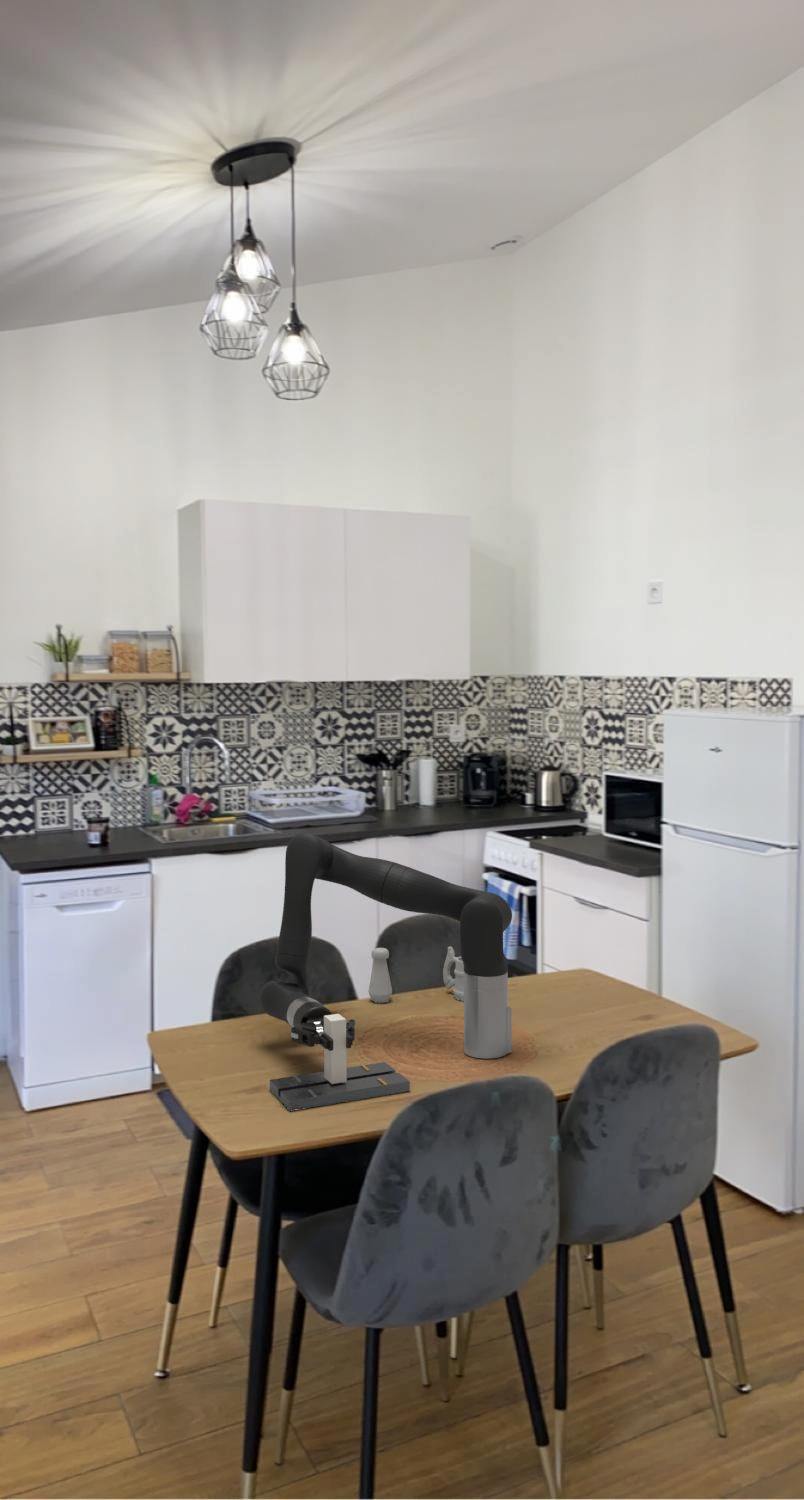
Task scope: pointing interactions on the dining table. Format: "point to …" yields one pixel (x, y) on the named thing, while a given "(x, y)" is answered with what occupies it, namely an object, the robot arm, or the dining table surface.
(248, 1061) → the dining table surface
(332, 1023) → the slider handle
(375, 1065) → the mixer console
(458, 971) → the mug
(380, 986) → the salt shaker
